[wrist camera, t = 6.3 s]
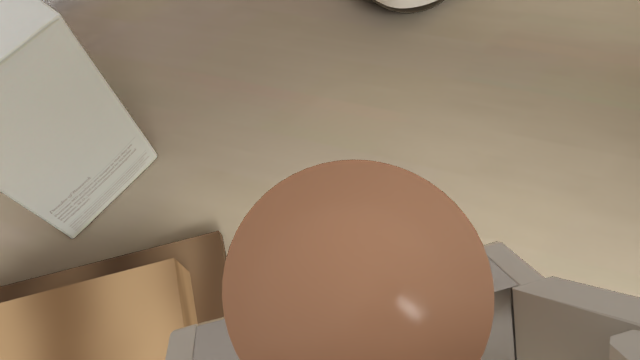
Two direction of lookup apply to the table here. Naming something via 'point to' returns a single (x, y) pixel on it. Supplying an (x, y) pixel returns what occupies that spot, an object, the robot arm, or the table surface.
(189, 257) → the walnut base
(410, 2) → the spread jar
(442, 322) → the peach capsule cylinder
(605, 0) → the table surface
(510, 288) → the robot arm
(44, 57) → the supplement box
